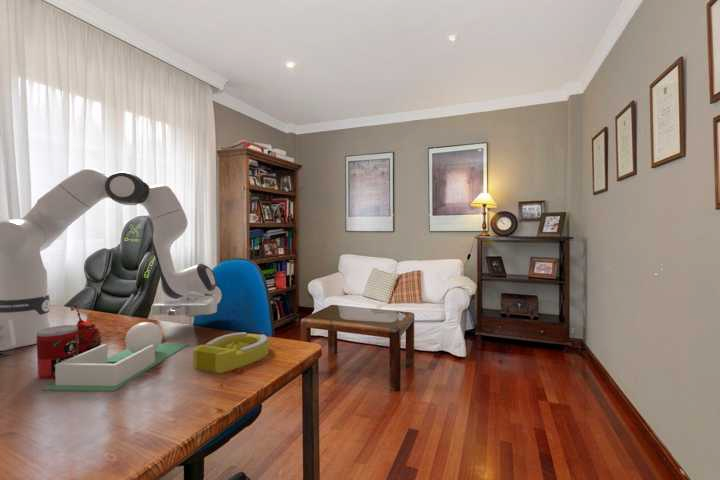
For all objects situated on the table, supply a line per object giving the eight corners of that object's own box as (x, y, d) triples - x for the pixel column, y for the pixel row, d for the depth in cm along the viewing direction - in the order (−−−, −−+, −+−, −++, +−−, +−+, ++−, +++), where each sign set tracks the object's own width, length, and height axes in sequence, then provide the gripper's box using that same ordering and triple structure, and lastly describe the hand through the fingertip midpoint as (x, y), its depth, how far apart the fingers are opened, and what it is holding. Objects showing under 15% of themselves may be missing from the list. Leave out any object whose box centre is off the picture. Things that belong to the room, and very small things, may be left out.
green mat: (138, 344, 107) (138, 343, 107) (188, 344, 106) (188, 343, 106) (43, 390, 76) (43, 388, 76) (113, 391, 75) (113, 390, 75)
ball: (119, 360, 92) (118, 327, 92) (133, 349, 101) (132, 319, 101) (156, 358, 94) (155, 325, 94) (166, 347, 103) (166, 317, 103)
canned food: (55, 380, 81) (54, 334, 80) (28, 378, 82) (27, 332, 82) (87, 368, 88) (86, 325, 88) (62, 365, 90) (61, 324, 89)
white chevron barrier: (103, 362, 92) (103, 344, 92) (154, 363, 91) (154, 344, 91) (55, 386, 78) (55, 364, 78) (115, 387, 77) (115, 365, 77)
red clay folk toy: (92, 355, 97) (91, 302, 97) (63, 357, 96) (62, 304, 95) (105, 346, 105) (104, 297, 104) (78, 348, 103) (77, 298, 103)
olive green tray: (181, 367, 89) (181, 348, 89) (235, 343, 109) (235, 327, 109) (232, 376, 84) (232, 356, 84) (279, 349, 103) (279, 332, 103)
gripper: (165, 295, 124) (139, 304, 110) (220, 295, 123) (201, 303, 109) (165, 312, 124) (139, 323, 110) (221, 312, 123) (202, 323, 109)
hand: (171, 313), depth 110 cm, fingers closed
